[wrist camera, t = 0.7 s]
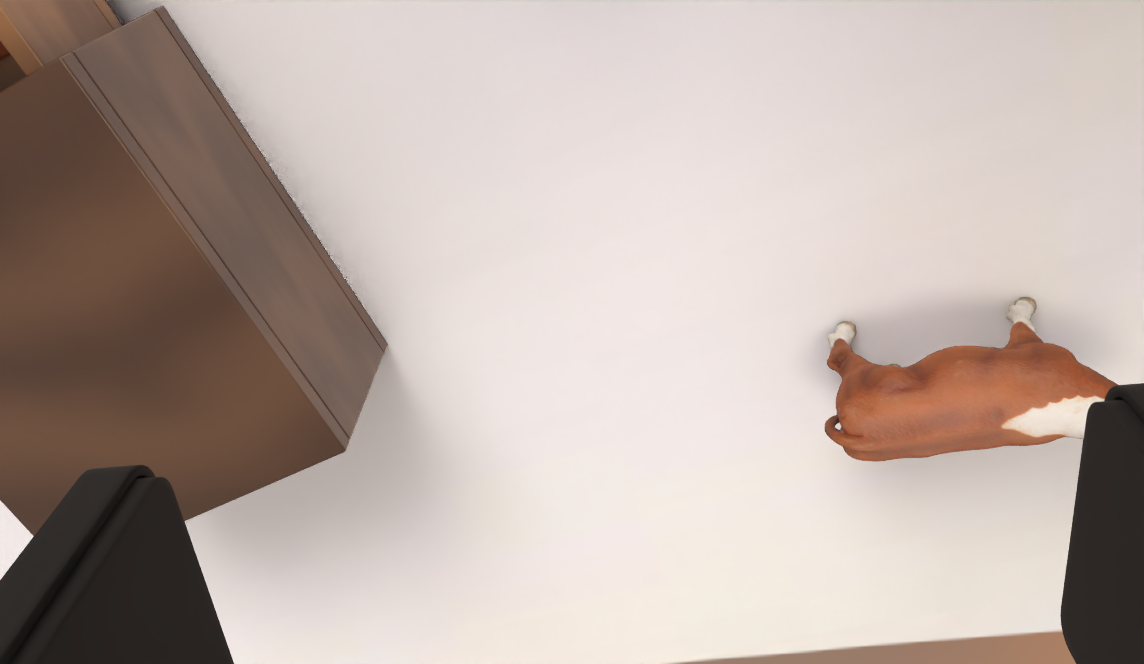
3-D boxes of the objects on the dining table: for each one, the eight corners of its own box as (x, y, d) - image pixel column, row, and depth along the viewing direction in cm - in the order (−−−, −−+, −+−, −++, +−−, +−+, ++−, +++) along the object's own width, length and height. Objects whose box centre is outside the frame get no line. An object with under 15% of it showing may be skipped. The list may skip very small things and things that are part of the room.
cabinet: (-98, 156, 43) (-247, 234, 36) (163, 5, 40) (60, 56, 33) (148, 453, 50) (66, 572, 43) (387, 344, 47) (345, 452, 39)
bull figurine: (1104, 374, 47) (1195, 482, 40) (801, 392, 48) (837, 500, 40) (1119, 287, 45) (1219, 383, 37) (803, 306, 46) (841, 405, 38)
